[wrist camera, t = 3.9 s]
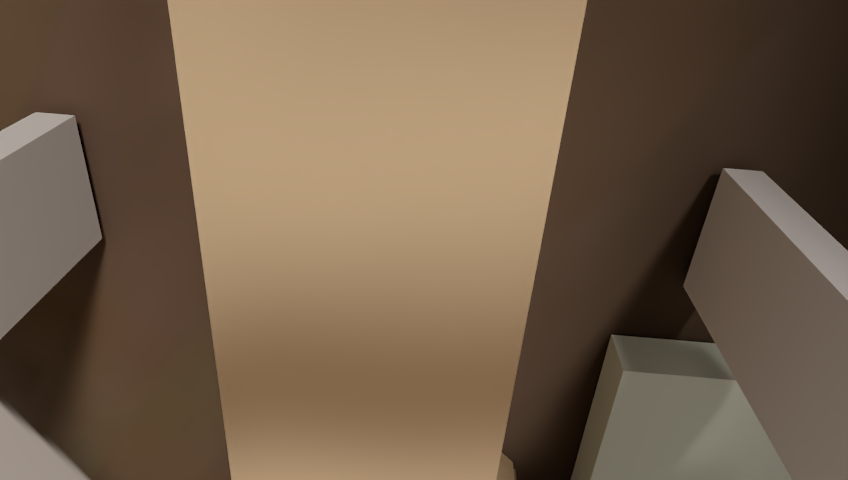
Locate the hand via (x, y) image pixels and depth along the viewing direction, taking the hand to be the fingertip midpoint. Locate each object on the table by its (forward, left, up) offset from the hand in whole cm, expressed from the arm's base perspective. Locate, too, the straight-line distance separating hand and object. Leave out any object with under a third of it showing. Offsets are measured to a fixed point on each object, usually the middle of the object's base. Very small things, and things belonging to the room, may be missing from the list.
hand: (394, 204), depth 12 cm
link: (+3, 0, 0) cm, 3 cm away
